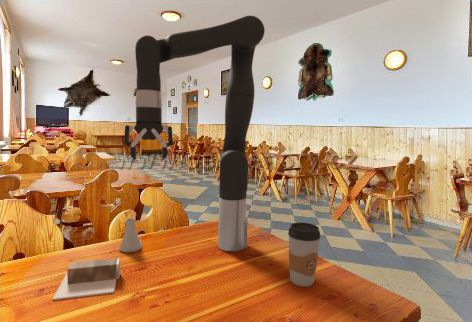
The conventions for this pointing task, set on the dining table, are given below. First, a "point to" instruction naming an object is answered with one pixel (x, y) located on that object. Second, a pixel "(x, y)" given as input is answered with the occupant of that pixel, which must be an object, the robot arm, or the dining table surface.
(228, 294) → the dining table surface
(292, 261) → the coffee cup
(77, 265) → the grey metallic bar
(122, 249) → the flask
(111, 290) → the mat
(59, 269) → the dining table surface
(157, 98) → the robot arm
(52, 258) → the dining table surface
